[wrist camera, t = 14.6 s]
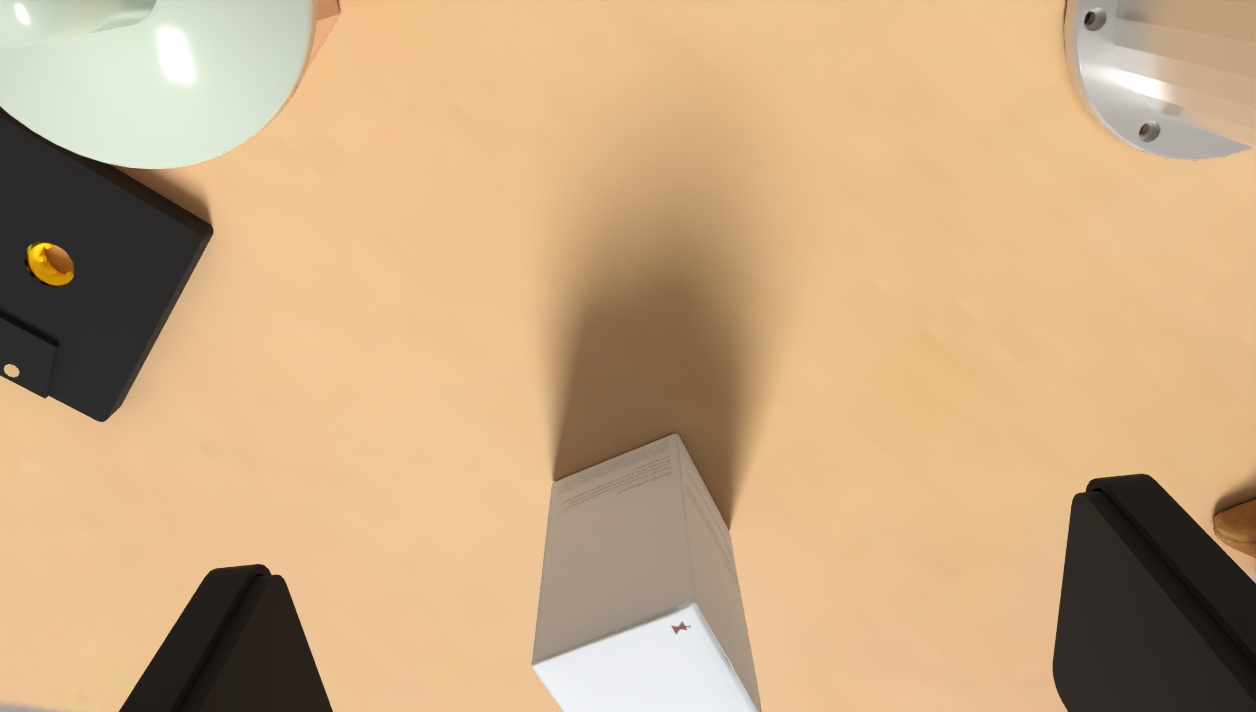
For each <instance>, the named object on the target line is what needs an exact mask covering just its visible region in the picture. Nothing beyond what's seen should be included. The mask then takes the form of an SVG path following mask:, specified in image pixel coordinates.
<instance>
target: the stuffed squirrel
mask: <svg viewBox="0 0 1256 712" xmlns="http://www.w3.org/2000/svg"><path fill="white" fill-rule="evenodd" d="M1214 532H1215V535H1216V536H1217V538H1219V539H1220V540H1221V541H1223V542H1224V543H1225V544H1227V545H1229V546H1231V547H1232V548H1234V549H1236V550H1238V551H1240V552H1243V553H1245V554H1247V555H1250V556H1253V557H1255V558H1256V499H1254V500H1251V501H1249V502H1245V503H1243V504H1240V505H1237V506H1235V507H1232V508H1230V509H1228V510H1225V511H1222V512H1219V513H1218V514H1217V515H1216V516H1215V517H1214Z"/></svg>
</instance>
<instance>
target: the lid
mask: <svg viewBox="0 0 1256 712" xmlns="http://www.w3.org/2000/svg"><path fill="white" fill-rule="evenodd" d="M317 5H318V1H317V0H0V106H1V107H2V108H3V109H4V110H5V111H6V112H7V113H9V114H10V115H11V116H12V117H14V118H15V119H17V120H18V121H19V122H21V123H22V124H24V125H25V126H26V127H28V128H29V129H31V130H32V131H34V132H35V133H37V134H39V135H41V136H42V137H44V138H46V139H48V140H49V141H51V142H53V143H55V144H56V145H59V146H61V147H63V148H65V149H68V150H70V151H72V152H74V153H77V154H79V155H82V156H85V157H88V158H91V159H94V160H97V161H101V162H104V163H108V164H113V165H119V166H124V167H129V168H143V169H164V168H177V167H182V166H187V165H193V164H197V163H200V162H203V161H206V160H209V159H212V158H215V157H217V156H220V155H221V154H223V153H225V152H227V151H229V150H231V149H233V148H235V147H237V146H238V145H240V144H242V143H244V142H245V141H247V140H249V139H250V138H252V137H253V136H254V135H256V134H257V133H258V132H260V131H261V130H263V129H264V128H265V127H267V126H268V125H269V124H270V122H271V121H272V120H273V119H274V118H275V117H276V116H277V115H278V114H279V113H280V112H281V111H282V110H283V108H284V107H285V106H286V104H287V103H288V101H289V100H290V99H291V97H292V96H293V95H294V93H295V91H296V89H297V87H298V85H299V83H300V81H301V79H302V77H303V75H304V73H305V70H306V67H307V64H308V61H309V58H310V55H311V52H312V48H313V42H314V37H315V32H316V23H317Z"/></svg>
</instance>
